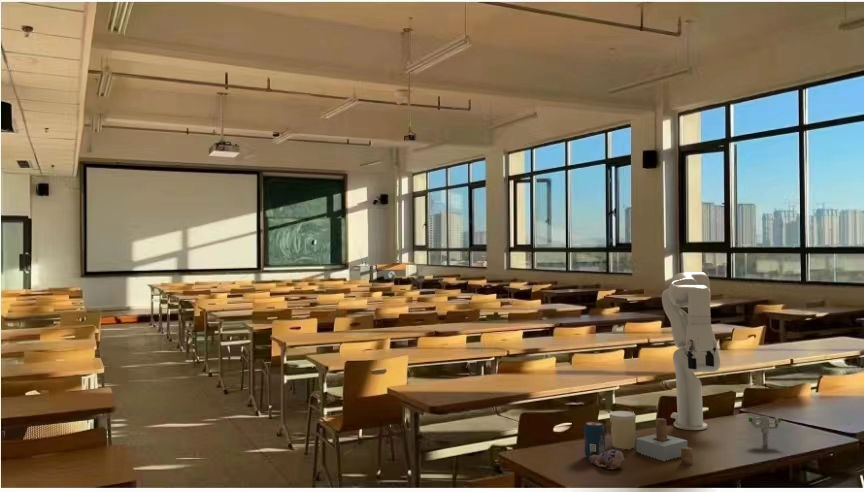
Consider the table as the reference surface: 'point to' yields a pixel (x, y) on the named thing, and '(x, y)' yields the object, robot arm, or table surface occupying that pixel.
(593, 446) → the soda can
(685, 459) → the short dowel
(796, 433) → the table surface
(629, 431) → the coffee cup
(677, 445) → the hole block
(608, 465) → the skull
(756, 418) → the mechanical component
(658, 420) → the long dowel
